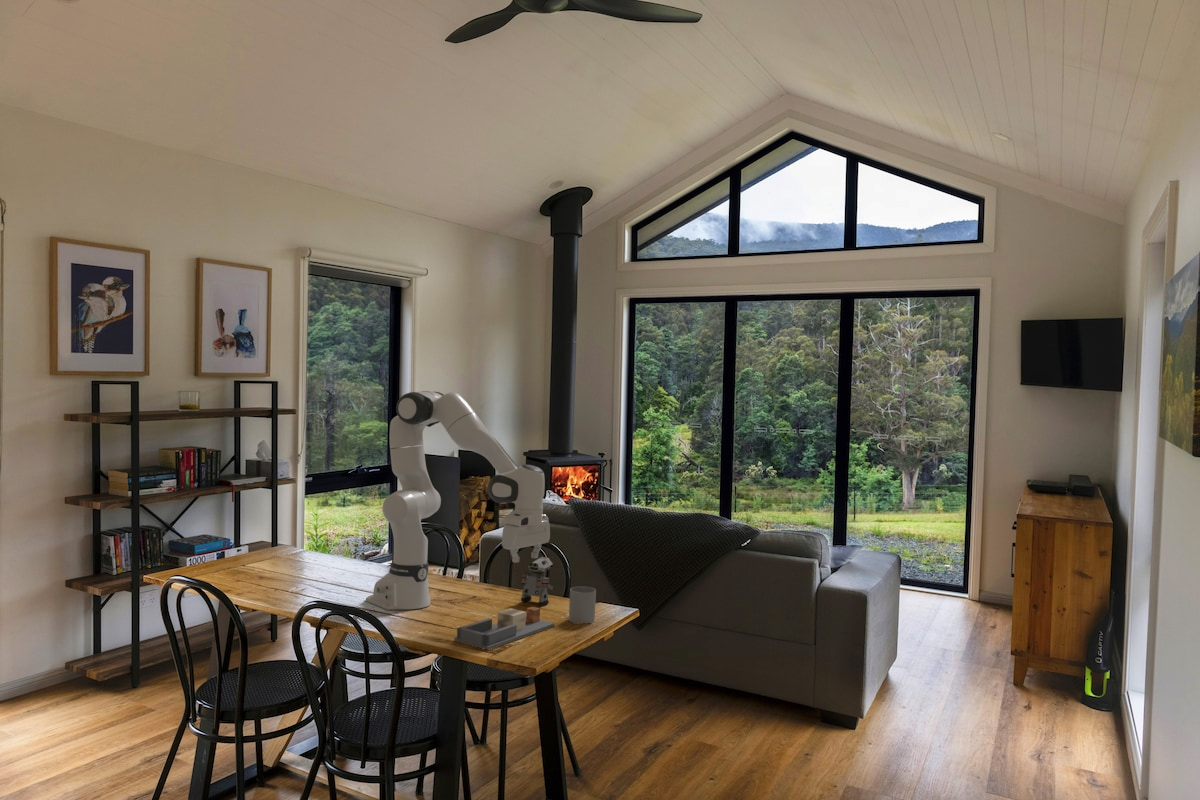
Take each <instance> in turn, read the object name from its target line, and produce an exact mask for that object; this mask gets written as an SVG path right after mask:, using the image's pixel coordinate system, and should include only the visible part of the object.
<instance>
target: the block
mask: <svg viewBox="0 0 1200 800" xmlns="http://www.w3.org/2000/svg"><path fill="white" fill-rule="evenodd" d="M540 620H541V608H540V607H536V606H530V607H527V608H526V611H523V610H519V609H516V608H511V607H510V608H507V609H504V610H500V611H498V612H497V623H498V624H497V623H496V624H497V629H500V628H503V627H506V626H509V625H512V624H513V625H517V627H516V631H519V630H522V629H525V624H528V623H535V622H538V621H540Z"/></svg>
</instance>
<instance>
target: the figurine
mask: <svg viewBox="0 0 1200 800" xmlns="http://www.w3.org/2000/svg"><path fill="white" fill-rule="evenodd" d="M527 567H528V570H530V571H532V573H531V574H530V573H529V572H525V573H524V574H522V579H521V583H520V584H521V585H524V587H523V589H522V594H521V598H520V602H522V601H523V602H522V603H526V602H525V601H527V602H529V600H530V601H531V600H532V597H536V598H537V597H539V598H538V599H539V600H538V604H537V605H538V606H539V607H543V606H542V605H544V606H546V605H548V604H550V603H549V602H550V601H549V594H548V589H549V590H550V591H553V589H554V588H553V587H554V586H553V583H552V584H550V578H549V577H546V571H548V570H549V569H551V568H554V566H553V562H552V561H551V560H550V558H549V557H548V556H547V557H546V556H541V557H539V556H538V558H536V559H535V560H534V561H533V562H531V563H530V564H528V566H527ZM526 573H527V574H526Z"/></svg>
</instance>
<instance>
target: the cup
mask: <svg viewBox="0 0 1200 800" xmlns="http://www.w3.org/2000/svg"><path fill="white" fill-rule="evenodd" d="M596 597H597V589H595V588H594V587H591V586H584V585H583V586H579V585H578V586H573V587H570V588H569V603H568V605H569V607H568V608H569V609H568V621H569V622H570V621H571V622H570V623H572V622H573V624H576V623H581V624H580V625H584V624H583V623H586V624H585V625H588V624H587V623H590V624H593V623H594V622H595V621H594V620H595V619H596V602H597V601H596ZM592 622H593V623H592Z"/></svg>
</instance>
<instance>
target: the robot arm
mask: <svg viewBox="0 0 1200 800" xmlns="http://www.w3.org/2000/svg"><path fill="white" fill-rule="evenodd" d="M436 424H441V425H442V426H443V427H444V430H445V431H446V432H447V434H448V435H449V437H450V438H451V440H452V441H453V442H454V443H455V444H456V445H457V446H458V447H459V448H461V449H463V450H467V451H471V452H473V453H476V454H479V455H480V456H483V457H484V458H485V459H486V460H487V461H488V462H489V463H490V464H491V465H492V468H494V469H495V471H496V472H497V473H498V474H495V475H494V476H492V477H491V478H490V480H489V481H488V484H487V493H488V496H489V497H490V499H491V500H492V501H493V502H495V503H498V504H509V503H513V504H514V506H515V507H514V508H515V509H514V510H512V511H511V512H510V513H508V514H506V515H505V516H504V517H503V524H504V526H503V528H502V533H501V535H502V536H501V546H502V548H503V549H505V550H509V552H510V555H511V556H512V557H511V558H512V559H511V562H512V563H513V564H514V563H520V559H521V558H520V556H519V554H518V553H519V549H523V548H524V549H525V548H529V547H534V548H533V550H532V552H531V553H530V555H531V556H530V557H531V559H535V560H536V559H538V558H539V552H540V551H541V548H542V545H543V544H547V543H549V541H550V539H551V526H550V525H551V524H550V522H549V519H550V518H549V517H548V515H547V514H543V513H544V504H543V500H544V496H545V479H546V478H545V472H544V471H543V469H541V468H540V467H538V466H536V465H533V464H521V465H520V466H518V465H517V464H516V463H515V461H514V460H513V459H512V458H511V456H510V454H508V452H507V451H506V449H505V448H504V447H503V446H502V445H501V443H499V441H498V440H497V439H496V438H495V437H494V436H493V434H492V433H491V432H490V431H489V430H488V428H487V427H486V426H485V424H484V423H483V422H482V420H481V419H480V417H479V416H478V414H477V413H476V412H475V410H474V409H473V407H472V406H471V405H470V404H469V402H467V401H466V399H465V398H463V396H462V395H461V394H459V393H458V392H454V391H452V392H451V391H449V392H447V393H444V394H443V393H441V392H440V391H430V390H422V391H409V392H408V393H404V394H403V395H401V397H399V399H398V400H397V403H396V416H394V417H393V418H392V419H391V421H390V424H389V438H388V439H389V450H390V463H391V471H392V473H393V474H394V476H396V477H397V479H398V481H399V483H400V486H401V489H400V490H397V491H395V492H393V493H391V494H389V495H388V496H387V497H385V499H384V500H383V503H382V514H383V516H384V518H385V519H386V521H388V522H389V525H390V528H391V531H392V536H393V560H392V562H389V563H387V568H388V567H389V570H388V573H386V574H385V575H383V576H382V577H381V578H380V579H378V580H377V581H376V582H375V584H374V587H373V593H372V594H370V595H368V596H366V597H365V602H368V603H370V604H373V605H375V606H378V607H380V608H382V609H385V610H388V611H391V610H393V611H394V610H415V609H416V610H417V609H423V608H426V607H429V606H430V605H431V604H432V603H431V595H430V593H429V592H430V590H429V589H430V588H429V577H428V573H429V562H428V551H429V550H428V548H429V546H428V545H429V540H428V537H427V536H426V535H425V533H424V531H423V527H422V522H421V521H422V520H424V519H427V518H429V517H431V516H432V515H434V514H435V513H437V512H438V511H439V509H440V508H441V504H442V503H441V502H442V498H441V495H440V493H439V491H437V489H435V487H434V485H433V484H432V481H431V479H430V476H429V472H428V468H427V464H426V456H425V446H424V438H423V435H424V434H423V433H424V429H425V428H426V427H428V428H430V427H432V426H434V425H436Z"/></svg>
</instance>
